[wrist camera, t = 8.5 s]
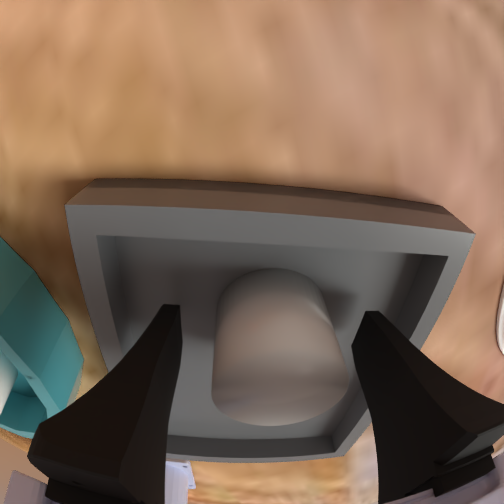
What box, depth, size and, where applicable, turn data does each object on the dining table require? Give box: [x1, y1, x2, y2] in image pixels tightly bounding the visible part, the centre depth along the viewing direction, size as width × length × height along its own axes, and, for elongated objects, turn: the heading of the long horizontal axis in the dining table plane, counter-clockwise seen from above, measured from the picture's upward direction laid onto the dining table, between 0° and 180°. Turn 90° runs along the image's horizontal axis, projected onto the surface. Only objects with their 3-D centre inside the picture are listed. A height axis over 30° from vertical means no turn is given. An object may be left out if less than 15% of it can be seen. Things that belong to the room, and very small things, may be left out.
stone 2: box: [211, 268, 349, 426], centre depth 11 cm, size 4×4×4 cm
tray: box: [65, 179, 475, 463], centre depth 14 cm, size 18×14×2 cm
